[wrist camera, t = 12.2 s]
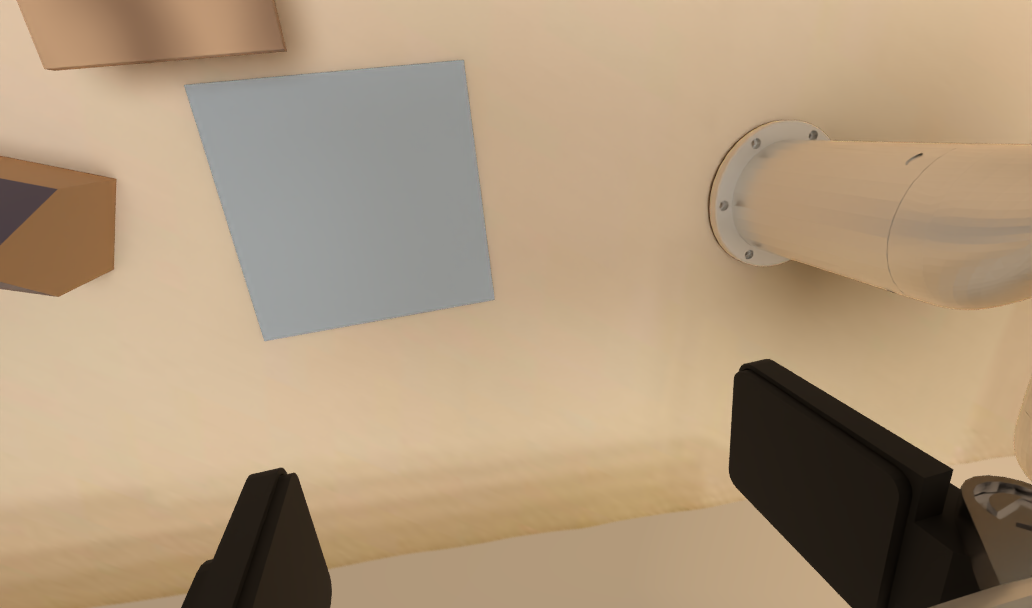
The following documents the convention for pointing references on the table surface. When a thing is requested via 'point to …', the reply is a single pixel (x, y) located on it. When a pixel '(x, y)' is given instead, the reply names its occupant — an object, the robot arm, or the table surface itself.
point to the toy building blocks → (54, 227)
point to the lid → (148, 30)
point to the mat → (348, 193)
